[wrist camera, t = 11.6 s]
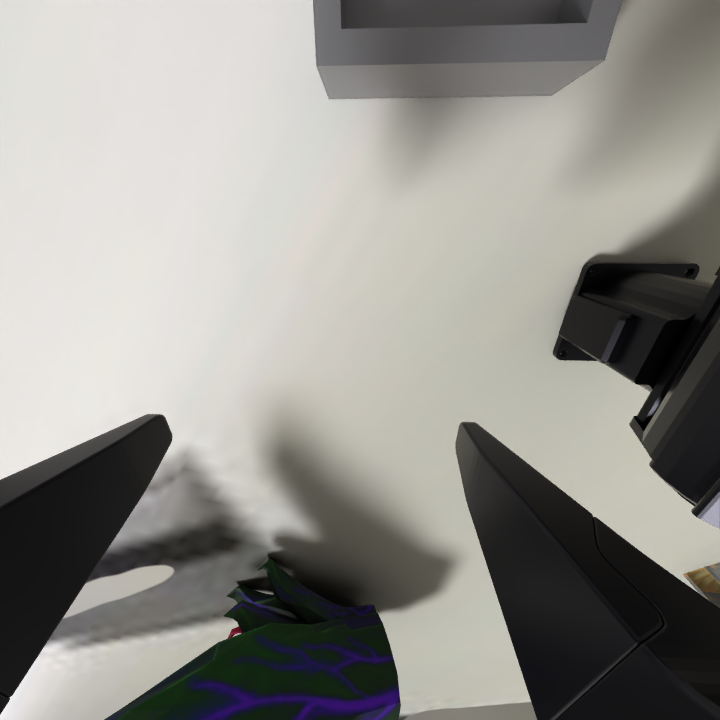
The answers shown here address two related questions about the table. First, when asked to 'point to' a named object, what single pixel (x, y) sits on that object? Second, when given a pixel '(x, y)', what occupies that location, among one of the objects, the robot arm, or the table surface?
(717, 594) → the architectural model on board
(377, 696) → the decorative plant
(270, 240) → the table surface
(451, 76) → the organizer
